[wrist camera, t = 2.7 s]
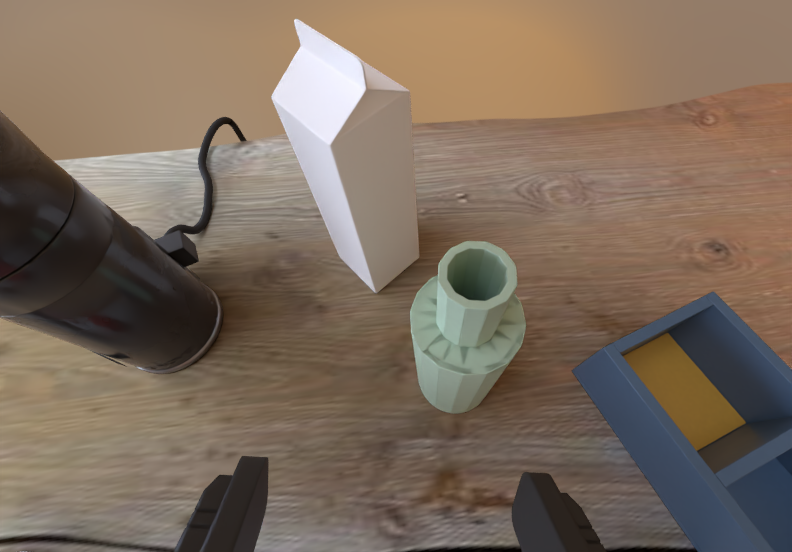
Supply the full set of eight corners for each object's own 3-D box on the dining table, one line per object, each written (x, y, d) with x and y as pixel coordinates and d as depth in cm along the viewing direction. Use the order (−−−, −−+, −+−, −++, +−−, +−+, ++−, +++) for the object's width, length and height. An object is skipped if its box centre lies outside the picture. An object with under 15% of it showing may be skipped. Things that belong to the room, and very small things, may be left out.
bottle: (407, 361, 33) (381, 247, 16) (466, 332, 34) (500, 195, 17) (438, 426, 30) (447, 370, 13) (502, 394, 31) (585, 303, 14)
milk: (381, 224, 40) (337, -8, 21) (420, 258, 38) (410, 30, 18) (338, 258, 39) (245, 40, 19) (375, 296, 36) (313, 90, 17)
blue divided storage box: (757, 638, 23) (867, 694, 17) (571, 370, 31) (602, 347, 26) (872, 561, 24) (1012, 589, 18) (663, 323, 33) (713, 291, 27)
